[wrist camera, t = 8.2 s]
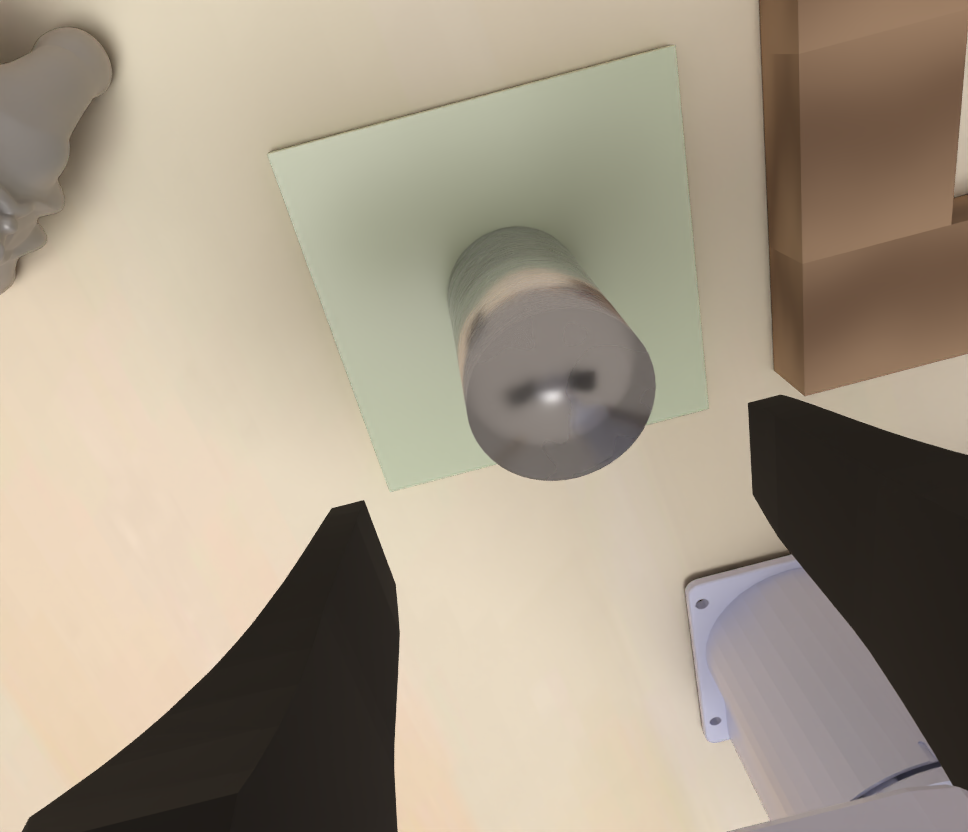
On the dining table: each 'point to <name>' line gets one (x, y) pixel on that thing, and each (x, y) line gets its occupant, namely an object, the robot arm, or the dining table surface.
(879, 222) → the walnut holder
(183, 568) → the dining table surface
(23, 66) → the elephant statuette
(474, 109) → the sage pad
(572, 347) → the metal peg
